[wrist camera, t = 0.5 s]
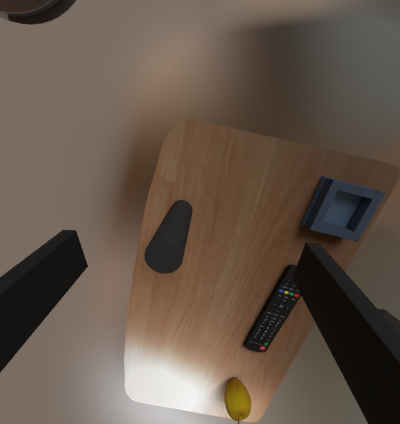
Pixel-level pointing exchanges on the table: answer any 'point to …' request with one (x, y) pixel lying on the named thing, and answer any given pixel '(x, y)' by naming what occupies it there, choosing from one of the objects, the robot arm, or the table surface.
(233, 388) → the apple
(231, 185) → the table surface
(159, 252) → the tall dark cylinder
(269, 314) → the remote control
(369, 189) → the socket pad
